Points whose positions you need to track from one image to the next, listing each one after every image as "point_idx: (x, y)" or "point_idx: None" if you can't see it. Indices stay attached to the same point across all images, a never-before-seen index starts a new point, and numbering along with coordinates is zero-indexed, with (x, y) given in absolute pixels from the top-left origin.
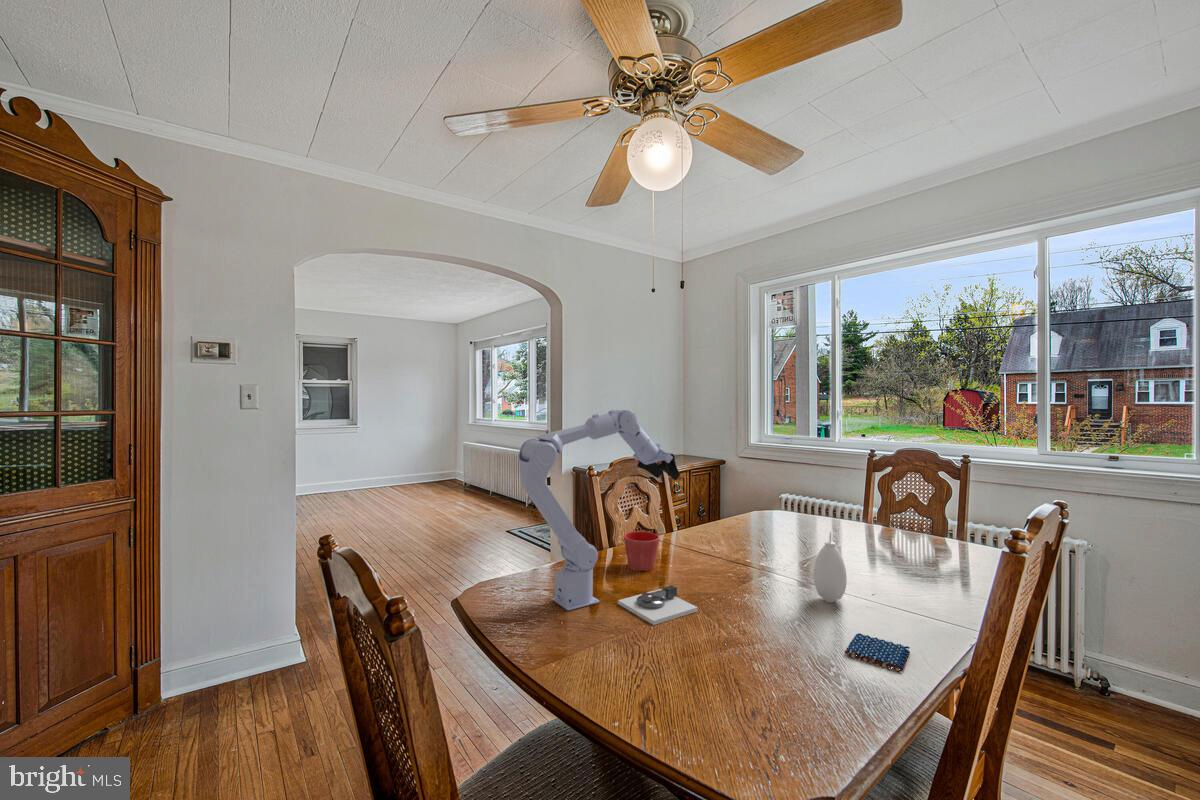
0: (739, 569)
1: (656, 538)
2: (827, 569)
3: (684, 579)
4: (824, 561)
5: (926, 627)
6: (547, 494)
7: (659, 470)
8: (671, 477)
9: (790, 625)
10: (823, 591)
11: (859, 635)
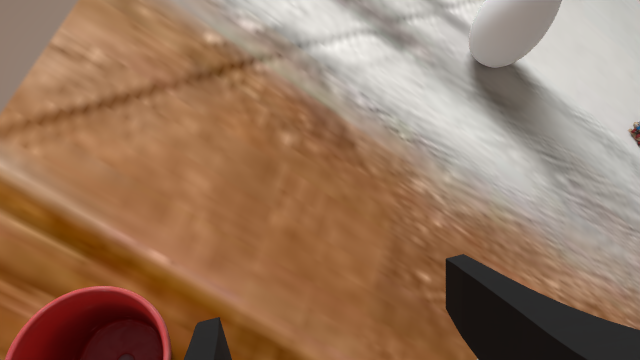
0: (263, 97)
1: (114, 295)
2: (548, 27)
3: (281, 276)
4: (549, 15)
5: (596, 7)
6: None
7: (221, 354)
8: (475, 349)
9: (574, 199)
10: (512, 62)
11: (637, 126)
